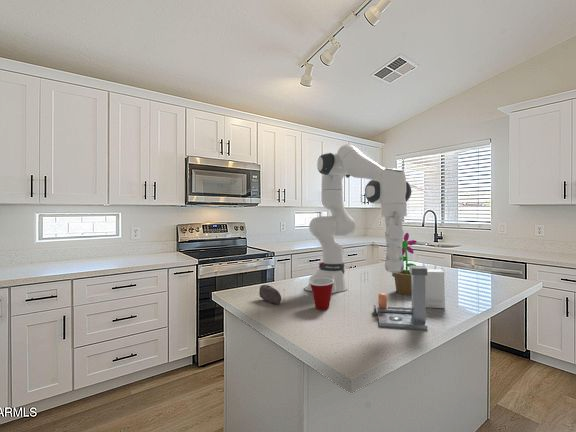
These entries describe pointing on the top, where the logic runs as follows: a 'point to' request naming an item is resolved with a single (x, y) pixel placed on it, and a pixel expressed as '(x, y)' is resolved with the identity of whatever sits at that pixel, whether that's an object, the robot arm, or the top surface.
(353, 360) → the top surface
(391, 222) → the robot arm
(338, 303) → the top surface
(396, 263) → the plastic bottle
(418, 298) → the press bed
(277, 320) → the top surface
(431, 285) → the skincare box
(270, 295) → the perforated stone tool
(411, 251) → the flowerpot
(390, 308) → the rail
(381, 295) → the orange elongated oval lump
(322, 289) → the plastic cup
